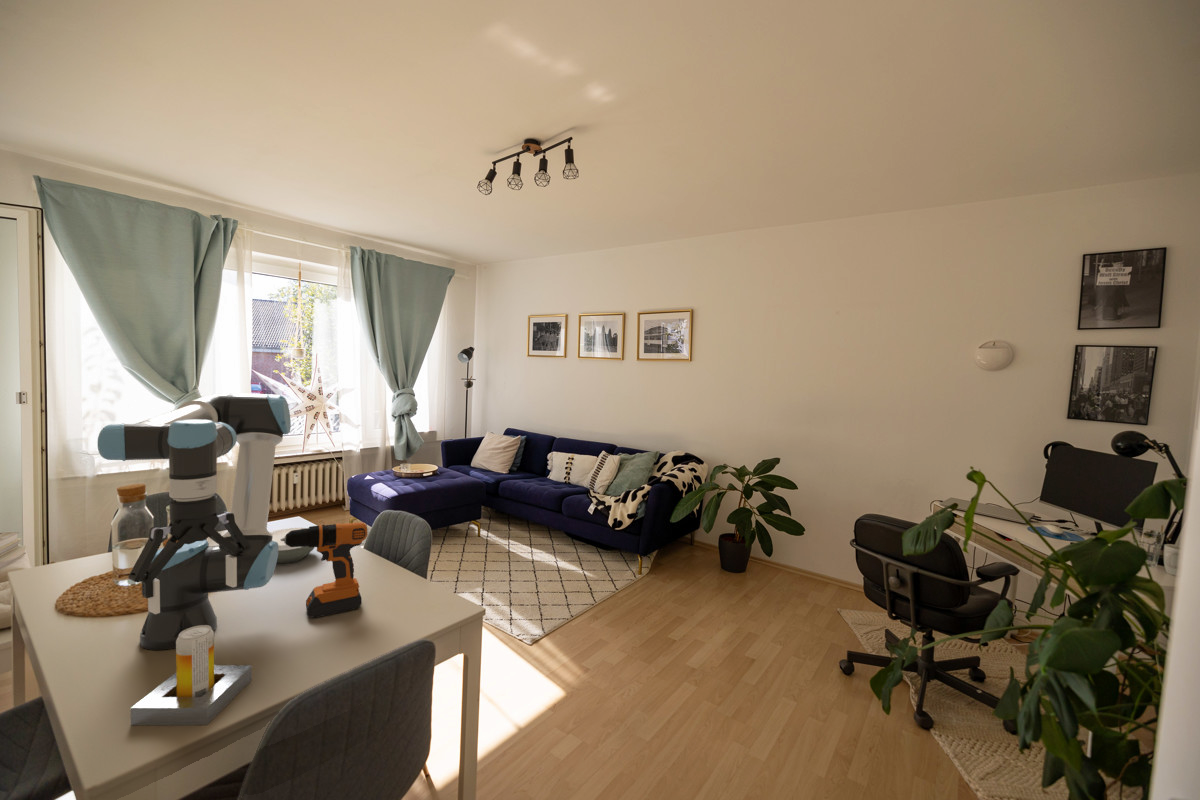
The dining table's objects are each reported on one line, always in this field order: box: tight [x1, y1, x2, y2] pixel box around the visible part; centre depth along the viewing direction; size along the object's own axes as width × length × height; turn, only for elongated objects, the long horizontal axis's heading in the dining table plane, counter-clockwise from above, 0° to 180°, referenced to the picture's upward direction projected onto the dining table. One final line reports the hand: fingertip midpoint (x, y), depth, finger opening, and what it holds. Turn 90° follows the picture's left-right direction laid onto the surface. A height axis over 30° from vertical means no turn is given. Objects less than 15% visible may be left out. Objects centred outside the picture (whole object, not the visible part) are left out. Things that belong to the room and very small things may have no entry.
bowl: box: [269, 527, 315, 564], centre depth 180 cm, size 19×19×8 cm
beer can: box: [175, 625, 215, 697], centre depth 104 cm, size 6×6×15 cm
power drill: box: [281, 521, 368, 619], centre depth 143 cm, size 22×7×25 cm, turn 123°
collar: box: [130, 664, 253, 726], centre depth 105 cm, size 14×14×4 cm
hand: (194, 598), depth 103 cm, fingers open, 13 cm apart
